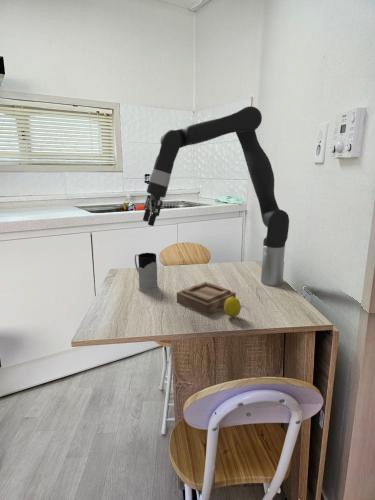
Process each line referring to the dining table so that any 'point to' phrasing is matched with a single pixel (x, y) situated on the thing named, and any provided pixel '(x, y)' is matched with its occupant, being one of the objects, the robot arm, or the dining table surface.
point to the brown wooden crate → (204, 297)
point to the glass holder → (147, 272)
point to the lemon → (232, 306)
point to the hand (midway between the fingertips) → (147, 223)
